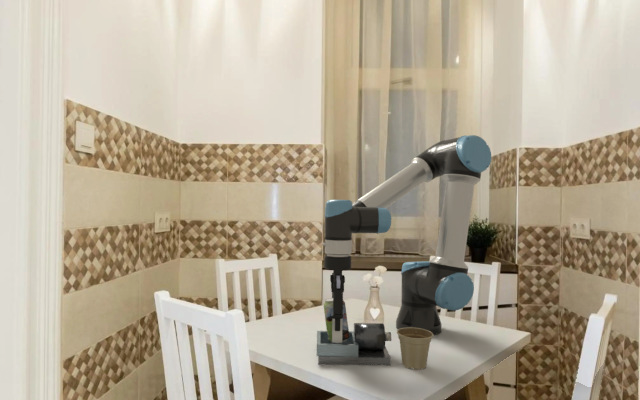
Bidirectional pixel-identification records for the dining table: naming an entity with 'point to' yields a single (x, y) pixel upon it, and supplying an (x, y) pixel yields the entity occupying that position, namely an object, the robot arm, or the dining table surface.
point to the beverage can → (329, 312)
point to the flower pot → (414, 346)
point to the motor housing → (356, 347)
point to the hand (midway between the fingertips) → (336, 337)
